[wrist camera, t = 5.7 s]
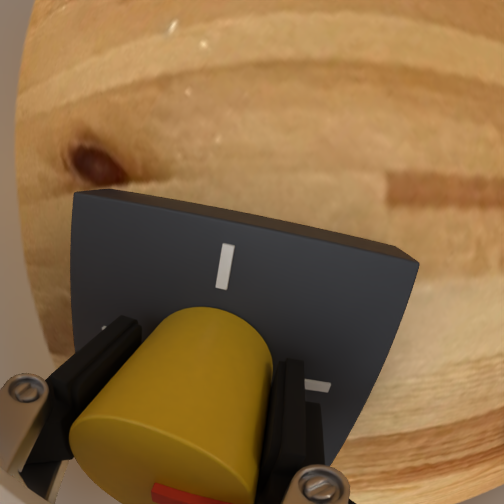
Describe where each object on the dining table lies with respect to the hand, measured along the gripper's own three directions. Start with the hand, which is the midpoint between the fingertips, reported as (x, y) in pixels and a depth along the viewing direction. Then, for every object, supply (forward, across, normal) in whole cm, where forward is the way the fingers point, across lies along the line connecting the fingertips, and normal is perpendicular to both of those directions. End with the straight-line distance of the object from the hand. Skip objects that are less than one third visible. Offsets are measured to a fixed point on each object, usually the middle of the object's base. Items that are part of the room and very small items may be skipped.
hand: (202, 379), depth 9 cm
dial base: (+4, 0, 0) cm, 4 cm away
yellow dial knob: (+1, 0, 0) cm, 1 cm away
